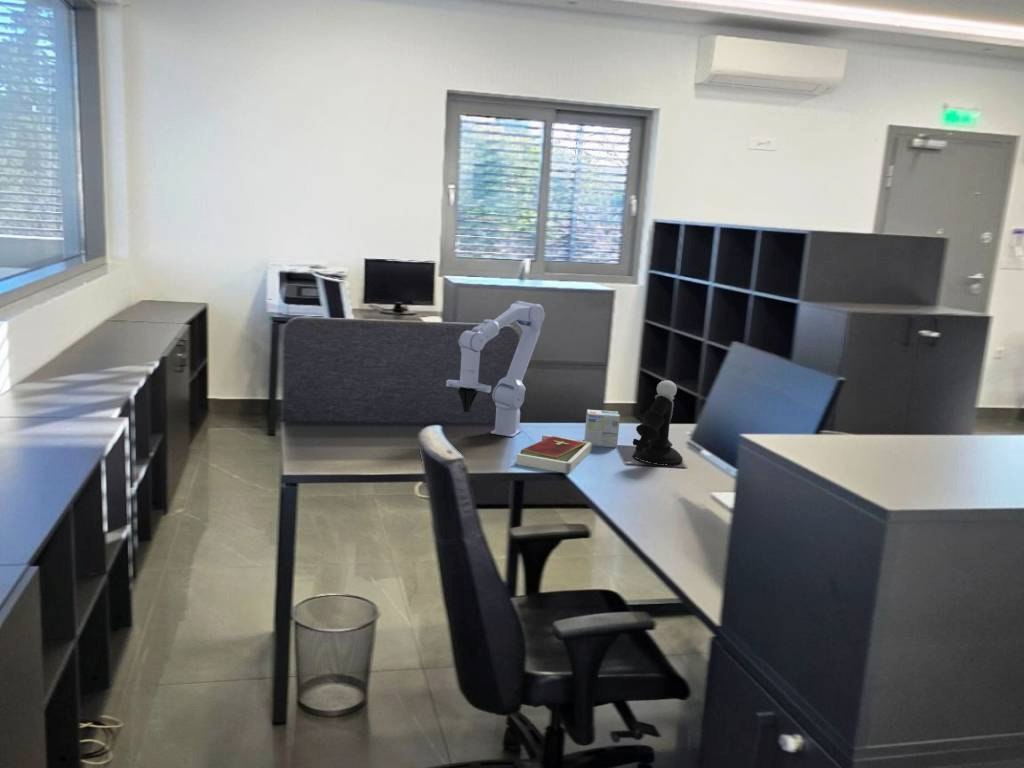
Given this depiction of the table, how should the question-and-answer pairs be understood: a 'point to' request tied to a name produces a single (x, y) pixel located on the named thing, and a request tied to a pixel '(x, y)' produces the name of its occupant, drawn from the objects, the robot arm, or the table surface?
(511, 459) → the table surface
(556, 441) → the hardcover book
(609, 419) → the light bulb box
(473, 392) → the robot arm
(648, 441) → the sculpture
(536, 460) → the document bay
